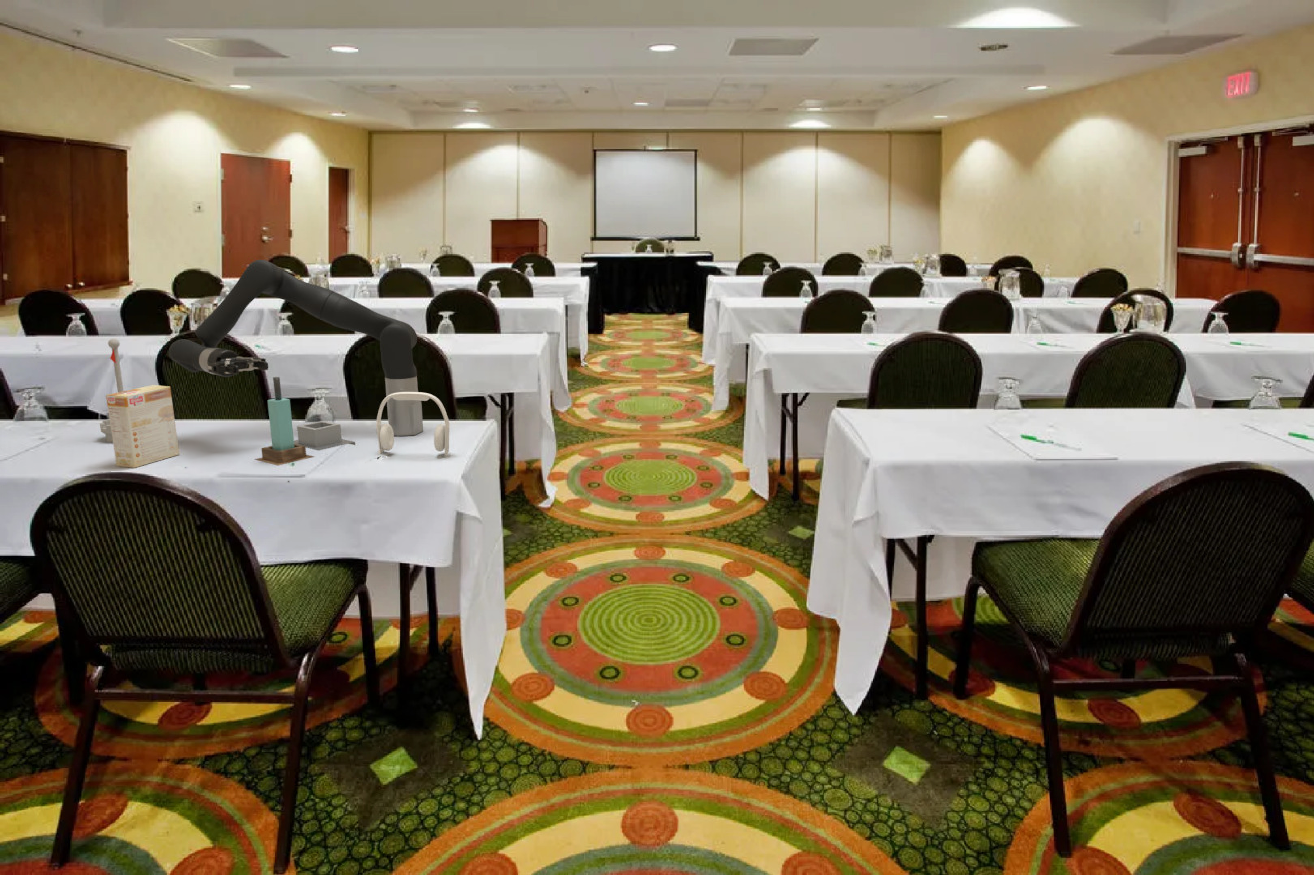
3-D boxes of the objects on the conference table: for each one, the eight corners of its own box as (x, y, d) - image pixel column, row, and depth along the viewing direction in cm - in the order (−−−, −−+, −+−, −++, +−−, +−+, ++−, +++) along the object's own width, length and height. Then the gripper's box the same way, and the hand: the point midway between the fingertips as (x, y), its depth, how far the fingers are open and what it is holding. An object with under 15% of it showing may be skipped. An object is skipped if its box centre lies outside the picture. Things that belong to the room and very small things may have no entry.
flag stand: (109, 434, 291) (95, 336, 284) (156, 432, 294) (143, 334, 287) (96, 444, 279) (80, 342, 272) (145, 441, 282) (131, 340, 275)
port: (321, 437, 285) (320, 418, 283) (355, 445, 275) (353, 424, 274) (285, 445, 275) (283, 425, 274) (319, 453, 266) (317, 432, 264)
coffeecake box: (161, 452, 269) (152, 384, 264) (180, 454, 266) (171, 385, 262) (114, 466, 255) (104, 394, 251) (134, 468, 253) (124, 395, 248)
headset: (454, 452, 266) (450, 389, 262) (447, 459, 259) (443, 394, 255) (383, 452, 267) (378, 389, 263) (374, 458, 260) (369, 394, 256)
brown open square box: (291, 454, 266) (289, 440, 265) (314, 460, 259) (313, 445, 258) (254, 462, 257) (253, 448, 256) (278, 469, 251) (276, 454, 250)
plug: (286, 455, 261) (278, 375, 255) (295, 457, 258) (287, 377, 253) (273, 458, 257) (265, 377, 252) (282, 460, 255) (273, 379, 250)
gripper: (193, 351, 261) (226, 357, 252) (242, 345, 273) (275, 351, 263) (196, 378, 263) (228, 385, 254) (244, 371, 274) (277, 378, 265)
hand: (252, 368), depth 259 cm, fingers open, 8 cm apart
